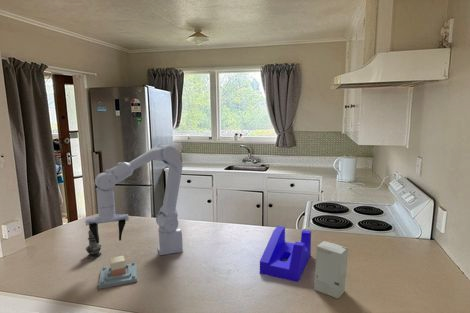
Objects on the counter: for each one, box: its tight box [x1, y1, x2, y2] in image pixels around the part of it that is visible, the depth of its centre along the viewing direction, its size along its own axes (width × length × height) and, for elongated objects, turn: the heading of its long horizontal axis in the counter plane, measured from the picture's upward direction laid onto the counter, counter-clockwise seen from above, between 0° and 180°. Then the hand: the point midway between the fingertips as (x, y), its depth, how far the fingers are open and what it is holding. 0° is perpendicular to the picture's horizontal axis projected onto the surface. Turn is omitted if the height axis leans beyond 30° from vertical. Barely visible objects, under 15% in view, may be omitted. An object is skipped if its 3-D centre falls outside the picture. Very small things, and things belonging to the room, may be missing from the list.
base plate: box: [97, 261, 138, 289], centre depth 108 cm, size 12×12×2 cm
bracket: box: [259, 225, 312, 283], centre depth 114 cm, size 21×14×10 cm, turn 155°
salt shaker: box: [85, 229, 102, 259], centre depth 123 cm, size 6×6×12 cm
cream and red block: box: [109, 255, 126, 277], centre depth 107 cm, size 4×4×5 cm
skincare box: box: [313, 240, 349, 299], centre depth 96 cm, size 8×6×15 cm
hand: (109, 241), depth 114 cm, fingers open, 7 cm apart
